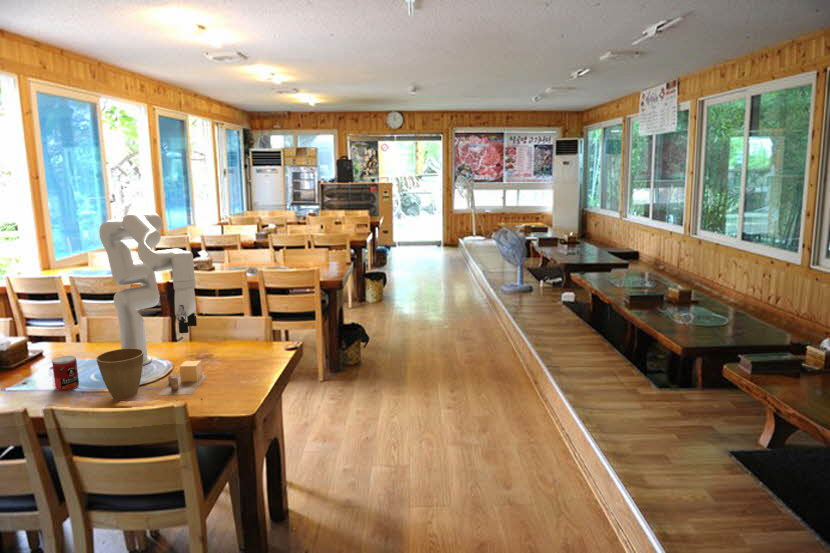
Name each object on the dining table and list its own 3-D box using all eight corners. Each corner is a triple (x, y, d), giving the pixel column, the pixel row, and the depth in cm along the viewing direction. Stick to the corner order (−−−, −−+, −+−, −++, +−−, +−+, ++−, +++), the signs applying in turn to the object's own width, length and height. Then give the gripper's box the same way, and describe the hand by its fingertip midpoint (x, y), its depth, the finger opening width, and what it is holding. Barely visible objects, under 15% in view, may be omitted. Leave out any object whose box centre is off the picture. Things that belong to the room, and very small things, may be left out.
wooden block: (180, 381, 222) (179, 366, 221) (186, 375, 228) (184, 361, 226) (197, 381, 222) (196, 365, 221) (202, 375, 228) (200, 360, 227)
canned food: (62, 392, 215) (59, 363, 213) (51, 388, 220) (47, 360, 218) (83, 385, 222) (80, 357, 220) (72, 381, 226) (68, 354, 224)
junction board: (157, 399, 209) (155, 383, 208) (176, 378, 229) (175, 364, 228) (191, 398, 210) (190, 382, 209) (208, 378, 229) (207, 363, 228)
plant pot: (123, 387, 220) (118, 346, 217) (156, 392, 216) (152, 350, 213) (90, 403, 206) (85, 359, 203) (125, 408, 202) (121, 363, 199)
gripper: (181, 280, 226) (185, 323, 229) (165, 289, 209) (169, 336, 212) (201, 279, 227) (205, 323, 230) (187, 288, 210) (191, 335, 213)
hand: (188, 329), depth 221 cm, fingers open, 9 cm apart
